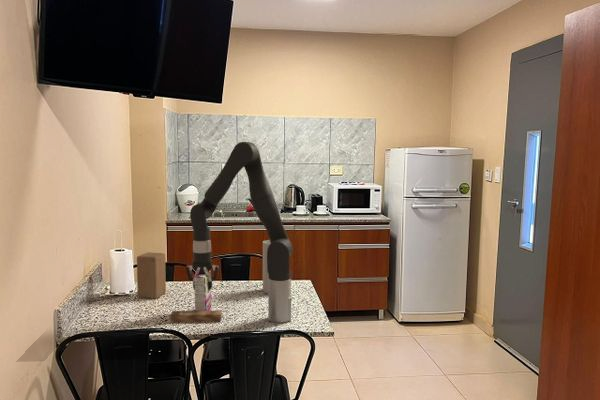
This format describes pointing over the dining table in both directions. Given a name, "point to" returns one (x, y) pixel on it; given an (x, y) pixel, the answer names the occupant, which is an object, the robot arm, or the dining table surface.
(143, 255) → the wooden block
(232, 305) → the dining table surface
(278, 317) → the robot arm
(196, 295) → the candy bar box
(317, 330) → the dining table surface
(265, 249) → the cylinder vase
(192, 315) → the guide board
